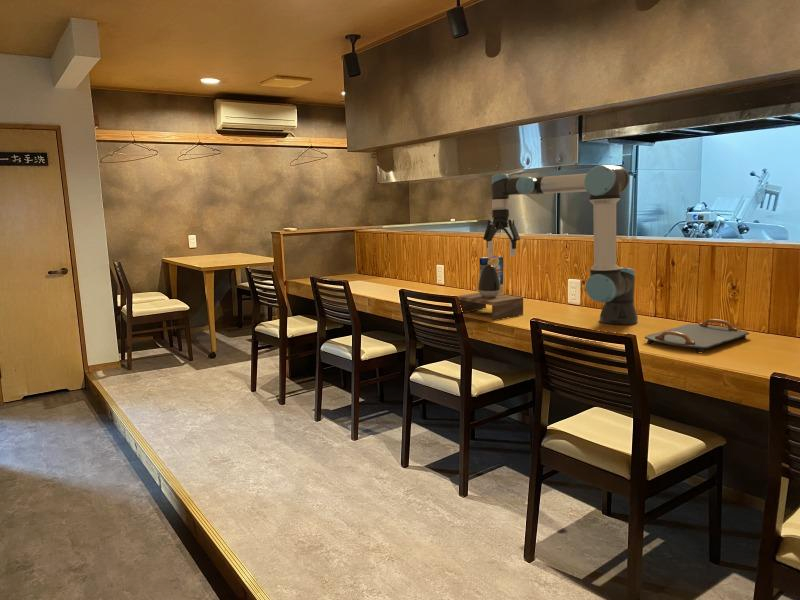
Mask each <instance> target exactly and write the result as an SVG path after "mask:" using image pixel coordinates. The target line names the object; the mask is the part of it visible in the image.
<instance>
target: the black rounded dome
mask: <svg viewBox="0 0 800 600" xmlns="http://www.w3.org/2000/svg"><path fill="white" fill-rule="evenodd" d="M477 290H478V293H480V295H481V296H483V297H485V298H493V297H496V296H497V295H498V294H499V290H500V282H499V277H498V274H497V271H496V269H495V267H494V266H493V265H490V264H488V265H485V266H484V268H483V269H482V272H481V275H480V274H479V279H478V284H477Z"/></svg>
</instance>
